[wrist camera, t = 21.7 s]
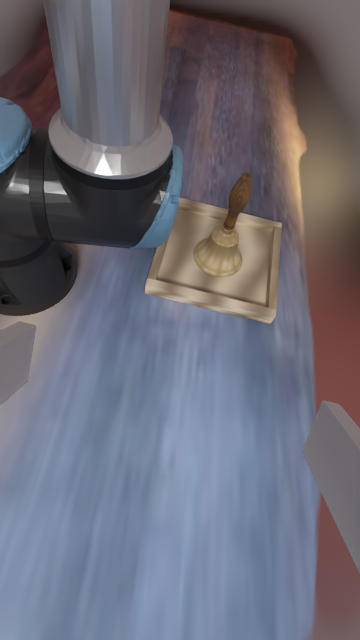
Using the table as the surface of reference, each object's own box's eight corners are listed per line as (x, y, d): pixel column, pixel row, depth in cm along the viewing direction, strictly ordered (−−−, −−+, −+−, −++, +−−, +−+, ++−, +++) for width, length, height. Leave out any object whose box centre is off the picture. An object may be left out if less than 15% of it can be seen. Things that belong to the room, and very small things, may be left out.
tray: (144, 293, 53) (145, 284, 51) (171, 205, 63) (173, 195, 61) (269, 324, 53) (275, 316, 51) (276, 232, 64) (281, 223, 61)
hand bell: (185, 243, 58) (205, 159, 44) (229, 234, 60) (260, 152, 47) (205, 282, 55) (232, 204, 41) (250, 271, 57) (290, 194, 43)
